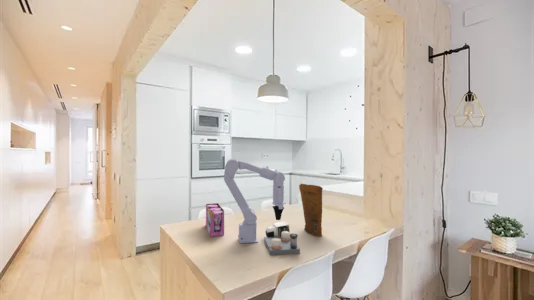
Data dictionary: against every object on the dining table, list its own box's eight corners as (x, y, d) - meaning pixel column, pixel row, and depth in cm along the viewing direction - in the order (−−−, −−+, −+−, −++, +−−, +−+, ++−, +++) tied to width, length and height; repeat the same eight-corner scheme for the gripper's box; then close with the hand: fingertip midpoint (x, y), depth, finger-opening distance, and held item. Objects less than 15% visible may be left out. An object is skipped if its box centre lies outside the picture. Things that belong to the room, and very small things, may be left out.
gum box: (225, 236, 144) (225, 211, 144) (210, 237, 141) (210, 212, 141) (218, 224, 166) (218, 203, 166) (205, 225, 164) (205, 203, 164)
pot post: (290, 249, 121) (290, 236, 121) (288, 246, 124) (289, 233, 124) (298, 248, 121) (298, 235, 121) (296, 246, 125) (296, 233, 125)
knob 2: (282, 240, 132) (282, 234, 132) (280, 237, 136) (280, 231, 136) (290, 239, 133) (290, 233, 133) (288, 236, 137) (288, 231, 137)
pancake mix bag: (317, 238, 142) (317, 186, 142) (297, 228, 159) (298, 182, 159) (326, 236, 145) (327, 186, 145) (306, 227, 162) (307, 182, 162)
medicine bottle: (290, 237, 141) (269, 242, 137) (285, 233, 147) (265, 237, 144) (289, 224, 140) (268, 228, 137) (284, 221, 147) (264, 225, 143)
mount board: (270, 254, 119) (270, 249, 119) (264, 241, 137) (264, 236, 137) (299, 253, 121) (299, 248, 121) (290, 240, 139) (290, 235, 139)
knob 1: (272, 248, 121) (272, 241, 121) (270, 244, 125) (270, 238, 125) (281, 247, 122) (281, 241, 122) (279, 244, 126) (279, 238, 126)
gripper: (288, 196, 133) (288, 223, 134) (282, 191, 148) (282, 216, 148) (275, 196, 132) (275, 223, 132) (270, 192, 147) (270, 216, 147)
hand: (278, 219), depth 140 cm, fingers closed
